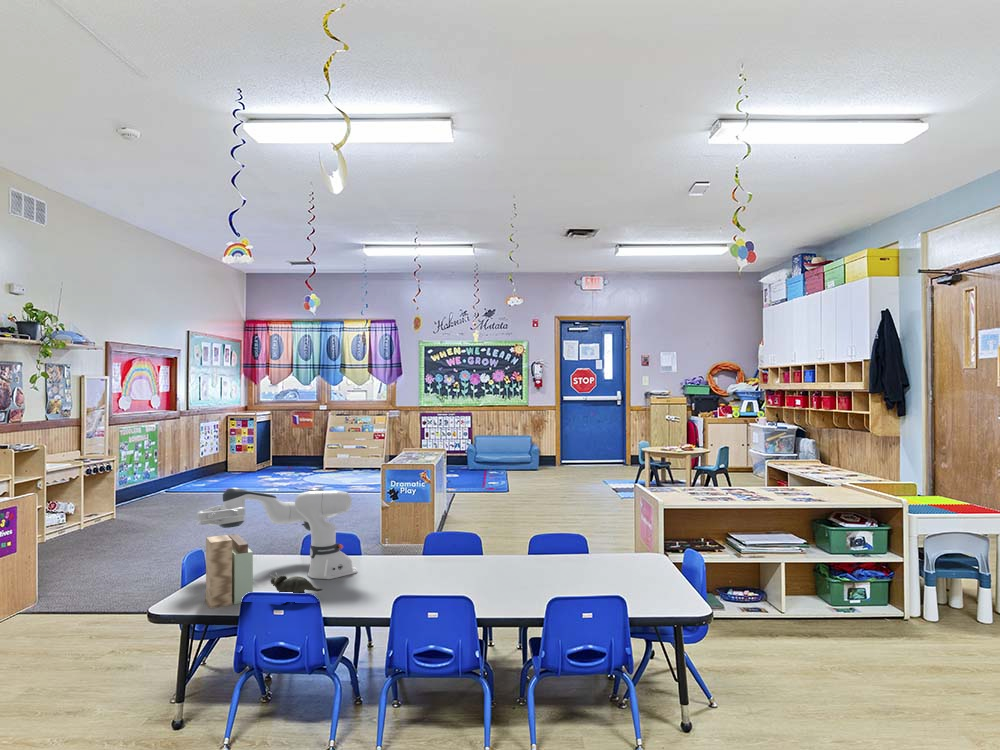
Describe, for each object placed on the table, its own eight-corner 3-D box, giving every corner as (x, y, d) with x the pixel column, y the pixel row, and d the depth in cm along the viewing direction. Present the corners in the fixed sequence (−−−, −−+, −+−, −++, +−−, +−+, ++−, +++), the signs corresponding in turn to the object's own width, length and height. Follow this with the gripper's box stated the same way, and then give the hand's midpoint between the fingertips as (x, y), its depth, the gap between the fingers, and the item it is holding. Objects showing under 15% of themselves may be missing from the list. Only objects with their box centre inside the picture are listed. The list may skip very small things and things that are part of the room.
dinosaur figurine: (323, 597, 268) (323, 570, 268) (317, 604, 260) (317, 576, 260) (270, 598, 268) (270, 570, 268) (263, 605, 260) (263, 577, 260)
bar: (237, 541, 283) (237, 533, 283) (248, 552, 264) (248, 543, 264) (228, 542, 281) (228, 534, 281) (239, 553, 262) (239, 545, 262)
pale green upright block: (245, 591, 277) (245, 544, 277) (253, 600, 265) (253, 552, 265) (227, 594, 273) (227, 547, 273) (234, 604, 261) (234, 554, 261)
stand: (227, 596, 270) (227, 534, 270) (232, 604, 260) (232, 540, 261) (205, 600, 265) (205, 537, 266) (210, 608, 256) (210, 542, 256)
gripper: (242, 519, 304) (249, 517, 293) (194, 525, 292) (201, 523, 281) (241, 505, 305) (248, 503, 294) (194, 511, 293) (200, 509, 282)
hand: (225, 513), depth 287 cm, fingers open, 8 cm apart
